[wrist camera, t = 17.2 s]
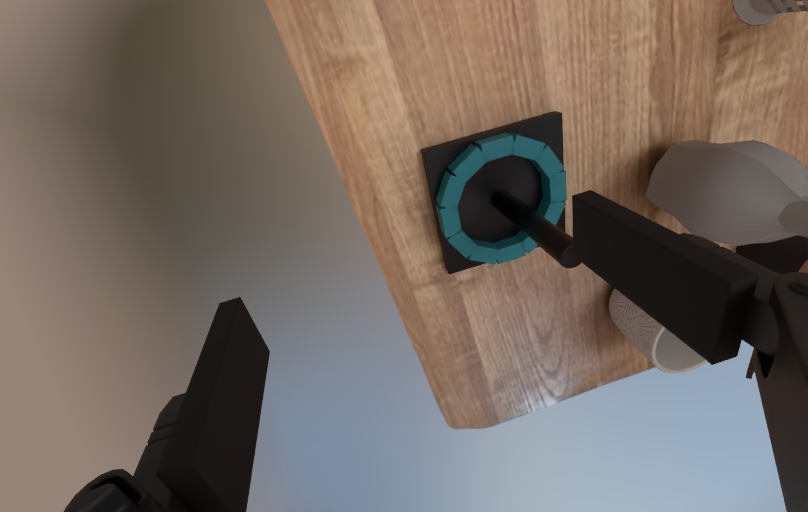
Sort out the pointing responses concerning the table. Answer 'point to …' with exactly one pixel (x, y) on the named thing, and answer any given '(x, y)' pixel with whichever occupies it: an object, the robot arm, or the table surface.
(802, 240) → the travel mug
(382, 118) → the table surface
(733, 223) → the bottle
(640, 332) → the planter
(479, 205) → the post
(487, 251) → the ring
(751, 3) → the french press
